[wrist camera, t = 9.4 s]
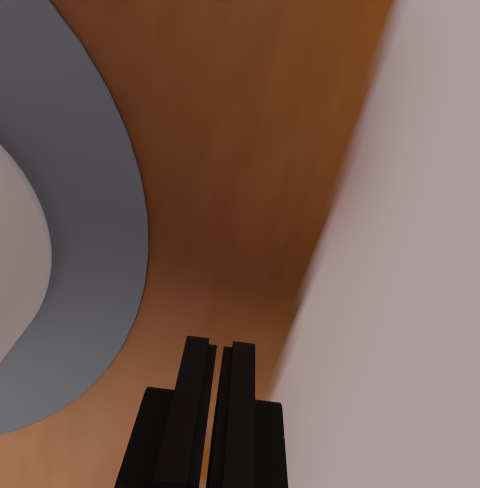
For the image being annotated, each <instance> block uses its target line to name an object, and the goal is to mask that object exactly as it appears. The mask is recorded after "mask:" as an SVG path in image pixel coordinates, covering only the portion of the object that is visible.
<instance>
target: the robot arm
mask: <svg viewBox="0 0 480 488" xmlns="http://www.w3.org/2000/svg"><path fill="white" fill-rule="evenodd" d="M216 349H217V345H210V344H209V338H202V337H194V336H187V339H186V343H185V348H184V352H183V356H182V360H181V365H180V369H179V373H178V377H177V382H176V386H175V390H171V389H162V388H154V387H147V388H146V390H145V393H144V396H143V399H142V402H141V405H140V409H139V412H138V415H137V418H136V421H135V424H134V427H133V430H132V434H131V437H130V440H129V443H128V446H127V449H126V452H125V455H124V459H123V462H122V465H121V468H120V471H119V474H118V477H117V480H116V484H115V487H114V488H199V481H200V474H201V466H202V458H203V451H204V443H205V435H206V427H207V419H208V411H209V404H210V396H211V388H212V380H213V372H214V365H215V357H216ZM206 488H288V479H287V466H286V452H285V439H284V426H283V413H282V405H281V403H277V402H270V401H261V400H255V344H251V343H243V342H235V341H233V345H232V347H226V346H224V349H223V356H222V364H221V371H220V378H219V386H218V393H217V400H216V407H215V415H214V422H213V429H212V437H211V446H210V456H209V464H208V473H207V482H206Z"/></svg>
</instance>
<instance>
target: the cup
mask: <svg viewBox="0 0 480 488" xmlns="http://www.w3.org/2000/svg"><path fill="white" fill-rule="evenodd" d="M51 265H52V250H51V240H50V234H49V230H48V226H47V221H46V218H45V215H44V212H43V210H42V207H41V204H40V202H39V200H38V198H37V195H36V193H35V191H34V189H33V187H32V186H31V184H30V182H29V181H28V179H27V177H26V176H25V174H24V173H23V171H22V170H21V169H20V167H19V166H18V165H17V163H16V162H15V161H14V159H13V158H12V157H11V156H10V154H9V153H8V152H7V151H6V150H5V149H4V148H3V147H2V146H1V145H0V362H1V361H2V359H3V358H4V357H5V356H6V354H7V353H8V352H9V350H10V349H11V348H12V346H13V345H14V344H15V342H16V341H17V340H18V338H19V337H20V336H21V335H22V333H23V332H24V331H25V329H26V328H27V327H28V325H29V324H30V323H31V321H32V320H33V318H34V317H35V315H36V314H37V312H38V310H39V308H40V306H41V304H42V302H43V300H44V297H45V294H46V291H47V288H48V284H49V278H50V271H51Z"/></svg>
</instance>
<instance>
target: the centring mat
mask: <svg viewBox="0 0 480 488" xmlns="http://www.w3.org/2000/svg"><path fill="white" fill-rule="evenodd" d="M0 145H1V146H2V147H3V148H4V149H5V150H6V151H7V152H8V153H9V154H10V156H11V157H12V158H13V159H14V161H15V162H16V163H17V165H18V166H19V167H20V169H21V170H22V171H23V173H24V174H25V176H26V177H27V179H28V181H29V182H30V184H31V186H32V187H33V189H34V191H35V193H36V195H37V198H38V200H39V202H40V204H41V207H42V210H43V212H44V215H45V218H46V221H47V226H48V230H49V234H50V240H51V250H52V265H51V271H50V278H49V284H48V288H47V291H46V294H45V297H44V300H43V302H42V304H41V306H40V308H39V310H38V312H37V314H36V315H35V317H34V318H33V320H32V321H31V323H30V324H29V325H28V327H27V328H26V329H25V331H24V332H23V333H22V335H21V336H20V337H19V338H18V340H17V341H16V342H15V344H14V345H13V346H12V348H11V349H10V350H9V352H8V353H7V354H6V356H5V357H4V358H3V359H2V361H1V362H0V434H4V433H8V432H12V431H16V430H18V429H21V428H23V427H26V426H28V425H31V424H33V423H36V422H38V421H41V420H43V419H45V418H46V417H48V416H50V415H52V414H54V413H55V412H57V411H59V410H61V409H62V408H64V407H66V406H67V405H68V404H70V403H71V402H72V401H74V400H75V399H76V398H78V397H79V396H80V395H81V394H83V393H84V392H85V391H87V390H88V389H89V388H90V387H91V386H92V384H93V383H94V382H95V381H96V380H97V379H98V378H99V377H100V376H101V375H102V374H103V373H104V372H105V371H106V370H107V368H108V367H109V365H110V364H111V362H112V361H113V359H114V358H115V357H116V355H117V354H118V352H119V351H120V349H121V348H122V346H123V344H124V342H125V340H126V338H127V336H128V333H129V331H130V329H131V327H132V325H133V323H134V321H135V318H136V315H137V312H138V308H139V305H140V301H141V298H142V294H143V291H144V287H145V280H146V271H147V263H148V255H149V244H148V214H147V208H146V202H145V196H144V190H143V184H142V178H141V174H140V171H139V167H138V164H137V161H136V157H135V154H134V151H133V147H132V144H131V141H130V138H129V134H128V132H127V129H126V127H125V125H124V123H123V120H122V118H121V116H120V114H119V111H118V109H117V107H116V105H115V102H114V100H113V98H112V95H111V93H110V91H109V89H108V87H107V85H106V84H105V82H104V80H103V79H102V77H101V75H100V73H99V72H98V70H97V68H96V67H95V65H94V63H93V62H92V60H91V58H90V56H89V55H88V53H87V51H86V50H85V48H84V46H83V44H82V43H81V42H80V40H79V39H78V38H77V36H76V35H75V34H74V32H73V31H72V30H71V28H70V27H69V26H68V24H67V23H66V22H65V20H64V19H63V18H62V16H61V15H60V14H59V12H58V11H57V10H56V8H55V7H54V5H53V4H52V3H51V1H50V0H0Z"/></svg>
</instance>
